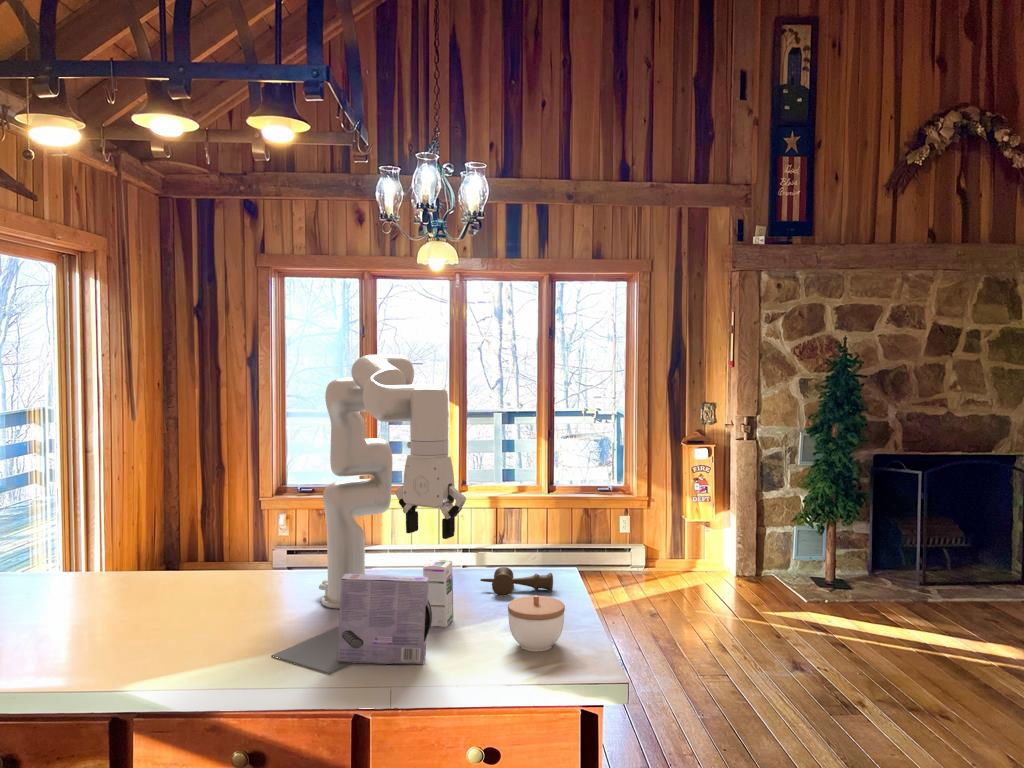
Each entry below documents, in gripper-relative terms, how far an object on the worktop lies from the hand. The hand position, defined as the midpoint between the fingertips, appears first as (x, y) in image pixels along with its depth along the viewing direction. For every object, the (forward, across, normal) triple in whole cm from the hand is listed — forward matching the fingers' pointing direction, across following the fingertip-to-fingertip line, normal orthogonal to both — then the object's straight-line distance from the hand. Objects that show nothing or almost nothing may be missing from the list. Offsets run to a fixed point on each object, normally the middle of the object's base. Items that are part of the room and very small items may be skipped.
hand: (429, 534), depth 151 cm
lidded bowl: (+29, +11, +24) cm, 39 cm away
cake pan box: (+28, -12, 0) cm, 31 cm away
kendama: (+29, -13, +55) cm, 63 cm away
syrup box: (+28, -16, +24) cm, 40 cm away
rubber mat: (+28, -26, 0) cm, 38 cm away
